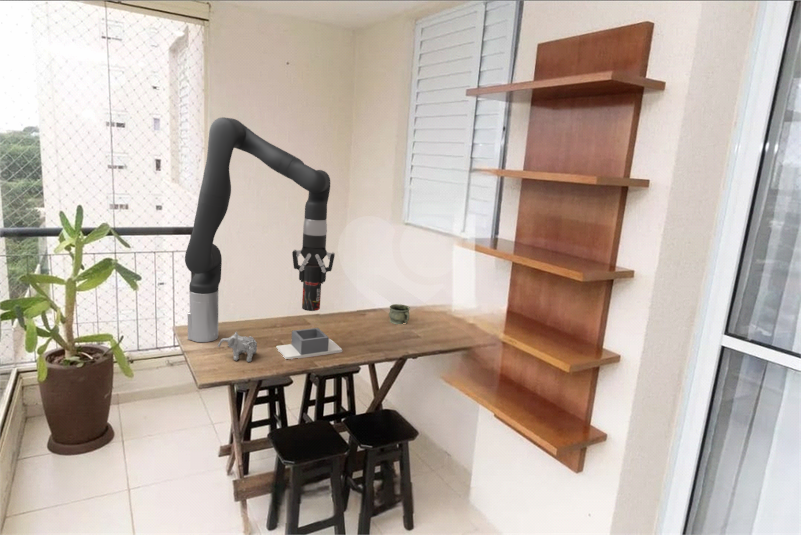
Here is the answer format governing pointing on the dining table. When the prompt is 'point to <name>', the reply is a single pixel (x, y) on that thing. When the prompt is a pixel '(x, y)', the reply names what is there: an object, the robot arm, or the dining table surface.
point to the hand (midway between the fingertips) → (312, 282)
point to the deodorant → (311, 287)
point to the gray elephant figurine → (241, 345)
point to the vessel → (399, 314)
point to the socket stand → (308, 344)
